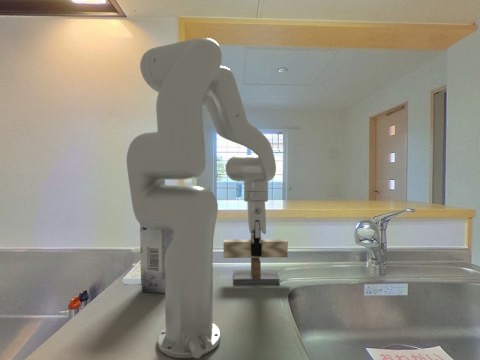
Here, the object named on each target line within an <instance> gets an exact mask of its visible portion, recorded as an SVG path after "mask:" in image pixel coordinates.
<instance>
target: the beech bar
mask: <svg viewBox="0 0 480 360" xmlns="http://www.w3.org/2000/svg"><path fill="white" fill-rule="evenodd" d="M288 242H289V241H288V239H286V238H279V239H278V238H273V239H272V238H270V239H269V238H265V239H263V238H261V243H262V255H261V256H251V243H252V239H251V238H250V239H244V238H243V239H223V259H248V258H249V259H251V258H259V259H260V258H261V259H262V258H263V259H264V258H265V259H266V258H269V259H270V258H288V257H289V256H288V253H289V252H288V246H289V245H288Z"/></svg>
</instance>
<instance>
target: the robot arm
mask: <svg viewBox="0 0 480 360" xmlns="http://www.w3.org/2000/svg"><path fill="white" fill-rule="evenodd" d="M222 59H223V54H222V49H221V46H220V45H219V43H218V42H217V41H216V40H214V39H212V38H208V37H207V38H206V37H199V38H192V39H188V40H182V41H179V42H174V43H170V44H165V45H161V46H156V47H152V48H149V49H147V50H146V52H144V54H142V56H141V59H140V63H139V67H140V73H141V76H142V79H143V80H144V82H145V83H146V84H147V85H148V86H149V87H150V88H151V89H152V90H153V91H155V92H157V93H158V94H157V97H156V105H155V106H156V107H155V109H156V124H157V125H156V126H157V131H155V132H154V131H152V132H146V133H145V132H144V133H141V134H139V135H137V136H136V137H135V138H133V140H132V141H131V142H130V143H129V146H128V148H127V153H126V168H127V169H126V170H127V177H128V183H129V184H128V185H129V191H130V197H131V203H132V204H131V205H132V209H133V214H134V216H135V219H136V220H137V223H139V225H140V224H141V225H142V226H143V227H145V228H149V229H154V230H163V231H170V232H175V236H174V238H173V240H172V242H171V243H170V245H169V247H168V248H167V251H166V255H165V293H164V294H165V295H164V302H165V304H164V306H165V310H164V311H165V312H164V313H165V320H164V321H165V325H164V326H165V327H163V328H162V330H161V331H159V333H158V335H157V347H158V350H160V352H161V353H163V354H164V355H166V356H169V357H172V358H175V359H191V358H194V359H199V358H201V357H202V356H204V355H207V354H208V353H210V352H211V351H213V350H214V349H215V348H216V347H217V346H218V345H219V344H220V341H221V330H220V329H219V327H218V326H217V325H216V324H215V323H213V320H214V319H213V317H214V315H213V314H214V313H213V310H214V309H213V307H214V306H213V305H214V304H213V303H214V301H213V300H214V299H213V298H214V297H213V296H214V294H213V293H214V292H213V291H214V289H213V283H214V282H213V281H214V280H213V279H214V274H213V272H214V271H213V270H214V269H213V267H214V266H213V262H214V261H213V259H214V257H213V254H214V253H213V252H214V251H213V250H214V249H213V248H214V237H215V236H214V234H215V230H216V229H215V228H216V222H217V218H218V210H219V209H218V206H219V205H218V200H217V198H216V196H215V194H214V193H213V192H212V191H211V190H209V189H207V188H206V187H202V186H198V185H184V184H183V185H182V184H166V180H172V181H173V180H174V181H175V180H180V181H183V180H185V181H186V180H193V179H197V178H199V177H200V176H202V174H204V172H205V169H206V144H205V135H204V123H203V106H206V107H207V110H208V113H209V116H210V118H211V120H212V123H213V127H214V128H215V132H216V134H217V135H218V136H219V137H221V138H222V139H223V138H224V139H225V140H228V141H230V142H232V143H235V144H237V145H240V146H244V147H246V148H247V149H249V150H251V151H252V152H253V153H254V155H253V154H251V155H249V154H248V155H235V156H232V157H230V158H229V159H227V161H226V165H225V173H226V176H227V177H228V178H229V179H230V180H231V181H234V182H243V201H244V202H247V221H248V230H249V233H250V239H252V243H251V256H261V255H262V243H261V239H262V234H263V235H266V233H267V224H266V223H267V220H266V218H267V217H266V216H267V213H266V202H269V182H270V181H272V180H273V179H274V178H275V177H276V172H277V163H276V160H275V159H276V158H275V155H274V151H273V147H272V145H271V142H270V141H269V139H268V138H267V137H266V135H264V133H263V132H262V131H260V130H259V129H258V128H257V126H255V125H253V124H252V123H251V122H249V121H248V119H247V118H248V117H247V115H246V112H245V108H244V104H243V102H242V98H241V95H240V91H239V88H238V85H237V82H236V79H235V75H234V73H233V72H232V70H231V69H230V68H228V67H226V66H222V62H223V60H222Z"/></svg>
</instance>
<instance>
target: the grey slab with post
mask: <svg viewBox="0 0 480 360" xmlns="http://www.w3.org/2000/svg"><path fill="white" fill-rule="evenodd" d="M232 272H233V273H232V275H233V283H232V284H233V285H278V284H279V285H280V281H281V280H280V276H279V273H277V270H276V269H262V268H261V259H260V258H250V269H233V271H232Z"/></svg>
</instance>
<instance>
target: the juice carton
mask: <svg viewBox="0 0 480 360" xmlns="http://www.w3.org/2000/svg"><path fill="white" fill-rule="evenodd" d="M139 229H140V230H139V231H140V234H139V237H140V238H139V239H140V242H139V243H140V244H139V245H140V280H141V281H140V283H141V289H142V292H143V293H160V294H163V293H164V294H165V255H166V251H167V248H168V247H169V245H170V243H171V242H172V240H173V238H174V236H175V232H170V231H163V230H154V229H149V228H145V227H143V226H142V225H141V224H140V223H139Z"/></svg>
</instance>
